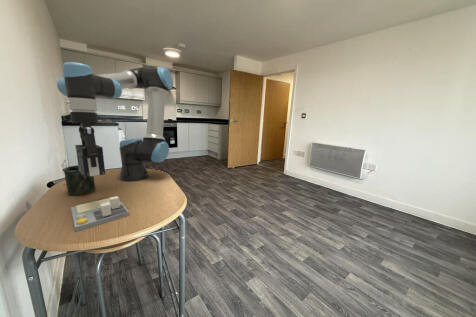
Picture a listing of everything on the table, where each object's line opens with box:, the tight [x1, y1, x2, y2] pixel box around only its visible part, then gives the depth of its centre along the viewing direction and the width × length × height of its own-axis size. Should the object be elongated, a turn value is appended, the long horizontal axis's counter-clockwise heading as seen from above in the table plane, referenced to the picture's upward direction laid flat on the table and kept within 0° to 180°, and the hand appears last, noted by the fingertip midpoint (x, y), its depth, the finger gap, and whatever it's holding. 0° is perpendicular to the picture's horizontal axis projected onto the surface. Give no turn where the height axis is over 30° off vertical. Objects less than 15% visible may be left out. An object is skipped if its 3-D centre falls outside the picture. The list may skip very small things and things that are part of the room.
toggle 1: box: [100, 202, 111, 217], centre depth 64 cm, size 2×2×4 cm
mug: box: [62, 164, 96, 197], centre depth 86 cm, size 11×15×12 cm
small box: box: [74, 144, 106, 178], centre depth 68 cm, size 11×6×10 cm, turn 49°
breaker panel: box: [70, 197, 130, 232], centre depth 69 cm, size 15×18×2 cm
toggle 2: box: [109, 195, 120, 209], centre depth 69 cm, size 2×2×4 cm
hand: (92, 172), depth 69 cm, fingers closed on small box, 11 cm apart
